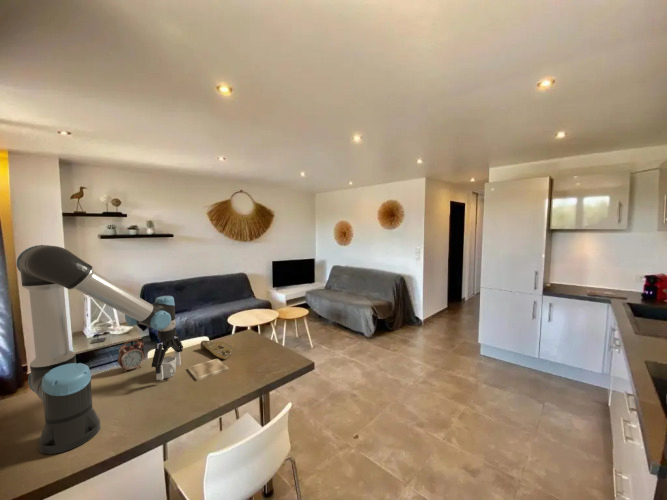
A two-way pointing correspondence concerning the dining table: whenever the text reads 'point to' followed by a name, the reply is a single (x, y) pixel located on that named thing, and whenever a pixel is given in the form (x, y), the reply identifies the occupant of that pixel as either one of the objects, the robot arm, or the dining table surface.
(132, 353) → the alarm clock
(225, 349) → the decorative stone
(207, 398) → the dining table surface
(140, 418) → the dining table surface
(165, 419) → the dining table surface
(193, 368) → the board
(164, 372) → the cup
